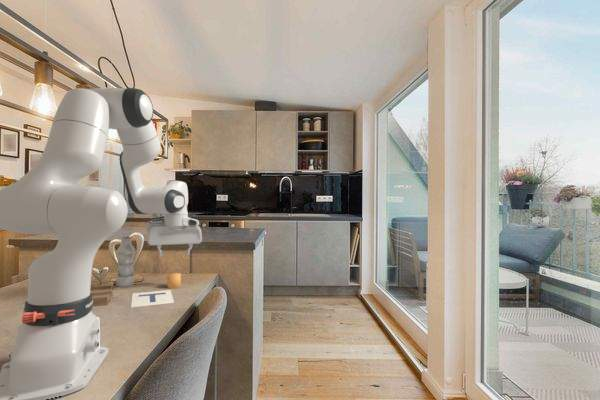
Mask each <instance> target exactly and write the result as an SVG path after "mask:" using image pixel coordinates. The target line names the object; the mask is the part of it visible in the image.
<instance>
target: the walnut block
mask: <svg viewBox="0 0 600 400" xmlns="http://www.w3.org/2000/svg"><path fill="white" fill-rule="evenodd" d="M90 292H91V293H92V297H93V305H92V308H93V307H104V306H108V305H109V304H110V303H111V301H112V299H113V298H114V289H100V290H99V289H97V290H91V291H90Z"/></svg>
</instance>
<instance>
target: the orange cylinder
mask: <svg viewBox="0 0 600 400" xmlns="http://www.w3.org/2000/svg"><path fill="white" fill-rule="evenodd" d="M166 279H167V282H166V283H167V285H166V287H167V289H169V290H171V289H179V288H181V286H182V283H181V282H182V273H180V272H172V273H168V274H167V278H166Z"/></svg>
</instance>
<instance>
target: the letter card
mask: <svg viewBox="0 0 600 400" xmlns="http://www.w3.org/2000/svg"><path fill="white" fill-rule="evenodd" d="M174 303H175V301H174V296H173V293H172V290H171V289H166V290H155V291H145V292H132V296H131V304H130V308H140V307H149V306H156V305H164V304H165V305H166V304H174Z"/></svg>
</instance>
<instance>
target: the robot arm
mask: <svg viewBox="0 0 600 400" xmlns="http://www.w3.org/2000/svg"><path fill="white" fill-rule="evenodd" d="M153 106H154V105H153V103H152V100H151V98H150V97H149V95H148V94H147V93H146V91H143V90H142V89H140V88H137V87H127V88H122V87H95V88H83V87H82V88H80V87H77V88H76V87H75V88H73V89H70V90H68V91H67V92H66V93H65V94H64V96H63V97H62V100H61V101H60V103H59V105H58V108H57V109H56V112H55V114H54V117H53V120H52V124H51V128H50V131H49V134H48V137H47V141H46V144H45V147H44V150H43V152H42V154H41V156H40V158H39V159H38V161H37V162H36V163H35V164H34V166H32V167H31V168H30V170H29V171H27V172H26V173H25V174H24V175H22V177H21V178H19V179H18V180H16V181H15V182H12V183H11V184H9V185H7V186H4V187H2V188H0V230H3V231H8V232H12V233H17V234H24V235H46V236H47V235H49V236H50V235H52V236H53V235H58V241H57V243H56V245H55V248H54V249H53V250H50V251H48V252H46V253H44V254H41V255H40V256H38V257H37V258H36V259H35V260H34V261H33V262H32V263H31V264H30V266H29V267H28V270H27V271H28V272H27V274H28V275H27V276H28V277H27V300H26V301H25V302H24V308H23V310H22V316H21V317H22V318H21V323H22V324H20V325H19V326H18V327H17V328H16V330H17V333H16V339H15V343H14V347H13V351H11V352H10V353H9V355H8V358H9V360H10V361H8V362H5V363H4V364H3V365H2V366H1V369H0V400H46V399H49V400H52V399H51V398H53V399H56V398H55V397H57V398H60V397H59V396H61V397H63V396H66V395H70V394H72V393H75V392H77V391H81V390H83V389H84V388H85V387H87V385H88V384H89V382H90V381H91V379H92V377H93V376H94V375H95V373H96V372H97V370H98V369H99V367H100V366H101V365H102V364H103V362H104V360H105V359H106V358H107V356H108V354H109V348H108V347H106V346H102V345H101V342H100V341H101V333H100V331H101V328H100V323H101V322H100V321H101V320H100V317H98V316H97V315H95V314H94V313H93V311H92V310H93V307H92V305H93V297H92V293H91V292H90V291H92V290H91V287H92V274H93V273H92V272H93V266H94V261H95V257H96V254H97V253H98V250H99V249H100V247H101V246H102V245H103V243H104V242H105V241H106V240H107V239H108V238H109V237H111V235H113V234H115V233H116V232H118V231H119V230H120V229H121V228H122V227H123V226H124V224H125V222H126V220H127V218H128V213H129V212H128V211H129V208H130V209H131V210H132V212H133V213H134V214H137V215H145V214H146V215H148V214H151V215H152V214H153V215H163V220H159V221H154V220H152V221H150V222H148V224H146V231H147V233H148V235H147V244H148V245H149V246H156V247H157V250H158V251H159V257H165V251H164V250H163V251H162V249H161V248H162V246H169V245H188V248H187V249H186V250H185V253H184V254H185V256H190V254H191V253H190V251H191V250H192V248H193V245H194V244H195V245H198V244H199V245H200V244H202V241H203V236H202V235H203V233H202V229H201V227H200V226H199V225H200V221H199V220H198V219H196V218H193V217H191V216H190V217H189V213H188V204H189V189H188V185H187V183H186V182H185V181H182V180H178V179H170V180H166V181H167V182H166V184H165V186H163V187H160V188H159V187H148V186H145V185H144V184H143V181H142V177H141V172H140V167H143V166H145V165H147V164H150V163H151V162H153V161H154V160H155V159H156V158H157V157H158V156H159V154H160V153H161V149H162V144H161V141H160V137H159V134H158V132H157V129H156V127H155V124H154V122H153V117H154V107H153ZM109 130H116V132H117V134H118V138H119V141H120V143H121V146H122V151H121V153H120V155H119V166H120V170H121V174H122V177H123V182H124V186H125V188H126V189H125V190H126V193H127V201H126V199H125V197H124V196H123V194H122V193H121V192H119V191H118V190H115V189H110V188H106V187H101V186H95V185H94V186H93V185H76V184H77V183H78V182H79V181H80V180H82V179H83V178H85V177H88V176H90V175H92V174H94V173H96V172H97V171H98V170H99V169H100V168H101V167H102V165H103V163H104V157H105V152H106V147H107V142H108V138H109ZM128 206H129V208H128Z"/></svg>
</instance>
